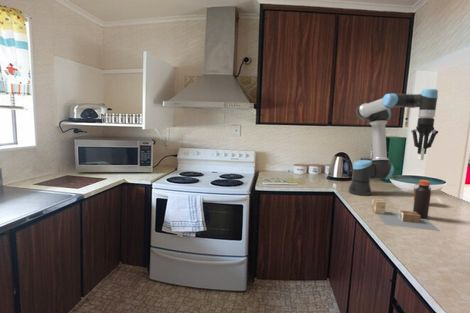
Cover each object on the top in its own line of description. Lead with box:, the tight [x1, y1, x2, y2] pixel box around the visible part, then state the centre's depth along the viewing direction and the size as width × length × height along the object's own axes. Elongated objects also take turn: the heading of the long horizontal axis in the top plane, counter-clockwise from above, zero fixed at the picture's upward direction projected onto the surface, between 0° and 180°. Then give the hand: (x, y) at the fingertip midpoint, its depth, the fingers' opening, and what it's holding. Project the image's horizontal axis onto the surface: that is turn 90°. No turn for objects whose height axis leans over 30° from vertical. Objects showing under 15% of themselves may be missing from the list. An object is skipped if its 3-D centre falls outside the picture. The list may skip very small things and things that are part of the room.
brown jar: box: [412, 183, 432, 201], centre depth 173 cm, size 10×10×12 cm
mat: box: [377, 211, 441, 232], centre depth 144 cm, size 22×24×1 cm
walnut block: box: [398, 209, 421, 223], centre depth 143 cm, size 6×4×8 cm
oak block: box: [370, 198, 386, 215], centre depth 154 cm, size 5×5×7 cm
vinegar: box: [412, 179, 432, 219], centre depth 148 cm, size 7×7×20 cm
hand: (420, 159), depth 155 cm, fingers closed
